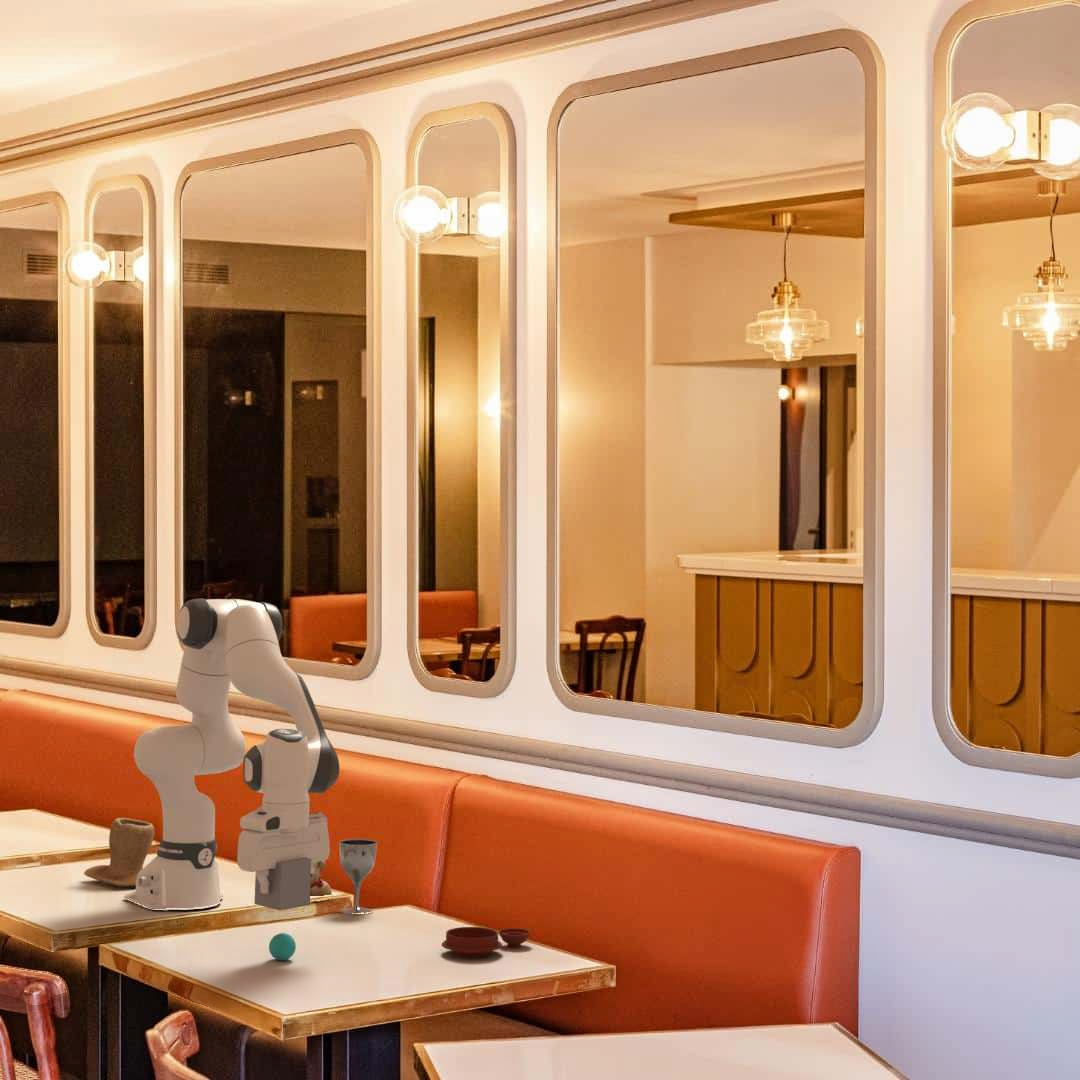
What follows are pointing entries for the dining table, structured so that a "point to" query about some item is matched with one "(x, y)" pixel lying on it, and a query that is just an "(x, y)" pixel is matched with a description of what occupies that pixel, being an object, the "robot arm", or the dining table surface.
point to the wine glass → (357, 866)
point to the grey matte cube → (286, 885)
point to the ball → (282, 946)
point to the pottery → (482, 940)
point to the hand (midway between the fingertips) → (284, 889)
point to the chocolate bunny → (318, 881)
